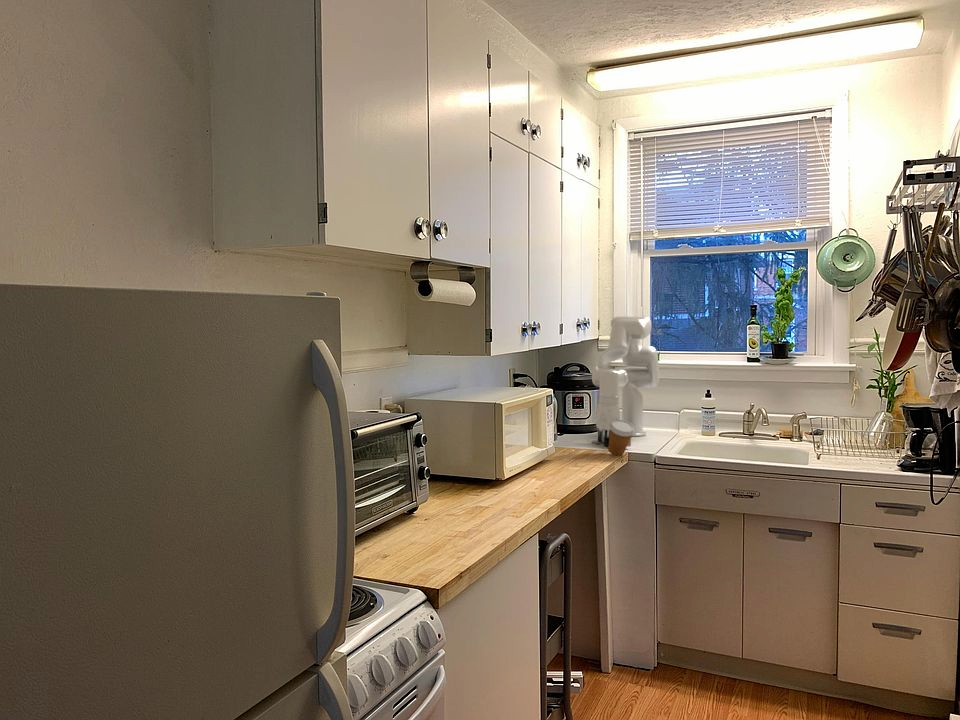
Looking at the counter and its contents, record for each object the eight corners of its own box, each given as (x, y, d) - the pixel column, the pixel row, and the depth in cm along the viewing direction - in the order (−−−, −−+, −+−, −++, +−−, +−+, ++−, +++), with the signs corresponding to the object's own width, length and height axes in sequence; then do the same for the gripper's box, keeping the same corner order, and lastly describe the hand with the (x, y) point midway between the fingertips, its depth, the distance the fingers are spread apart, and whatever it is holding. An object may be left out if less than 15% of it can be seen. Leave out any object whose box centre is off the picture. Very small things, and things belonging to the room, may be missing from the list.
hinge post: (588, 442, 319) (589, 417, 318) (601, 441, 322) (601, 416, 322) (599, 445, 313) (599, 419, 312) (611, 443, 316) (612, 418, 316)
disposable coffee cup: (615, 460, 284) (622, 434, 279) (599, 447, 291) (605, 421, 285) (632, 454, 289) (640, 429, 284) (616, 442, 296) (623, 416, 291)
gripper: (589, 399, 297) (589, 445, 298) (613, 403, 285) (613, 450, 285) (604, 399, 301) (603, 443, 302) (628, 402, 288) (628, 448, 289)
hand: (608, 446), depth 294 cm, fingers closed
